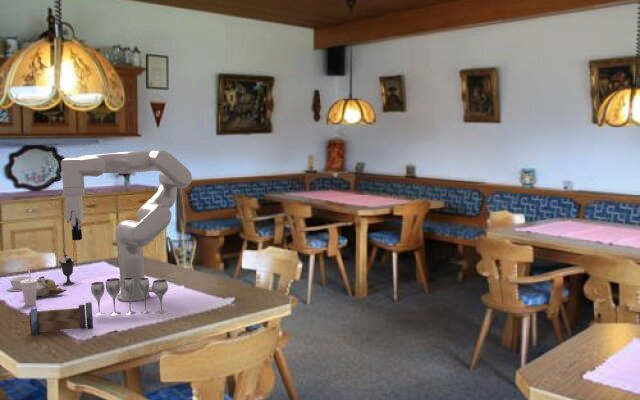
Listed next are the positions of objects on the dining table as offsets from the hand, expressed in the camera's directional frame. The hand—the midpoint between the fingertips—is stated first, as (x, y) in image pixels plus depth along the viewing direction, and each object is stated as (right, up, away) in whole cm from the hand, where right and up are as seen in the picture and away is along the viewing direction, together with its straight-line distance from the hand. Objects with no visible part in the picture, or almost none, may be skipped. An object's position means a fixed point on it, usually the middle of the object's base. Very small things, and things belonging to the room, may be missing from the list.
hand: (77, 239), depth 240 cm
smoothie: (-23, -26, +11) cm, 36 cm away
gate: (+2, -30, -21) cm, 36 cm away
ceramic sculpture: (-22, -25, +23) cm, 41 cm away
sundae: (-20, -22, +42) cm, 52 cm away
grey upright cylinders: (+3, -30, -21) cm, 37 cm away
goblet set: (+21, -28, -2) cm, 35 cm away
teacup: (-38, -24, +35) cm, 57 cm away
